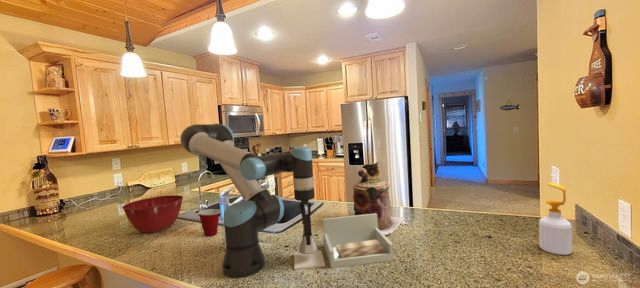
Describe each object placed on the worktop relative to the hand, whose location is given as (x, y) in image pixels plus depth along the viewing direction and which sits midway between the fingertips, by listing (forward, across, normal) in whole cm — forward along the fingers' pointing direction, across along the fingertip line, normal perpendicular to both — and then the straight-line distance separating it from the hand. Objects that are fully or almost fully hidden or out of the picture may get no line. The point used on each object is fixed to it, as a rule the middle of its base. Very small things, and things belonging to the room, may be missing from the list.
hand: (308, 248), depth 102 cm
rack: (+5, +1, -19) cm, 20 cm away
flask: (+1, 0, 0) cm, 1 cm away
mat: (+5, 0, 0) cm, 5 cm away
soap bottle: (+5, -14, -90) cm, 91 cm away
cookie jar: (+5, +28, -35) cm, 45 cm away
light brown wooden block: (+5, -4, -19) cm, 20 cm away
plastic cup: (+5, +39, +46) cm, 61 cm away
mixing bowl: (+5, +57, +80) cm, 98 cm away
